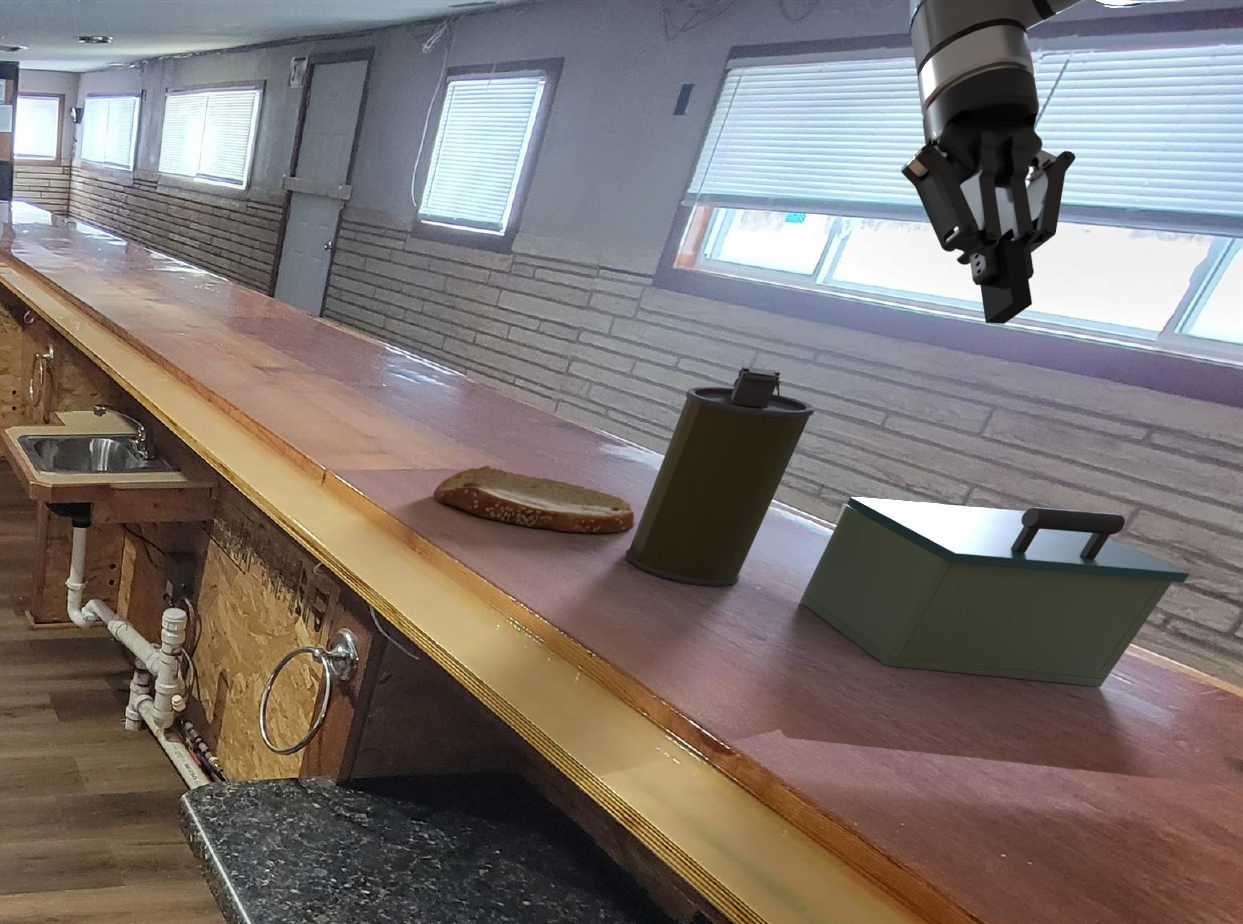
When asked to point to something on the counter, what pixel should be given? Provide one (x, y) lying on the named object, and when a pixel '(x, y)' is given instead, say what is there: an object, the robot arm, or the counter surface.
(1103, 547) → the lid
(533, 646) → the counter surface
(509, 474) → the bread slice
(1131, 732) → the counter surface
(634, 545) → the canister
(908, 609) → the box
